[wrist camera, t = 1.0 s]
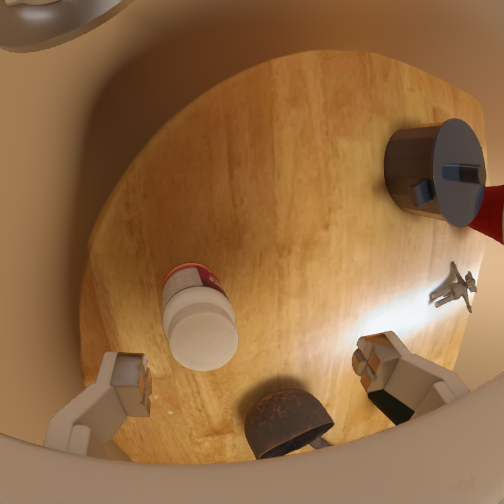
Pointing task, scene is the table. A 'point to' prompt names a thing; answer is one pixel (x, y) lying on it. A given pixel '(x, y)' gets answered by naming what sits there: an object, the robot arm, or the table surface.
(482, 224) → the plastic cup
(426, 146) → the pot
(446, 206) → the pot lid
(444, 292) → the elephant figurine
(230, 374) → the table surface
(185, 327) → the pill bottle
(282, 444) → the ladle
